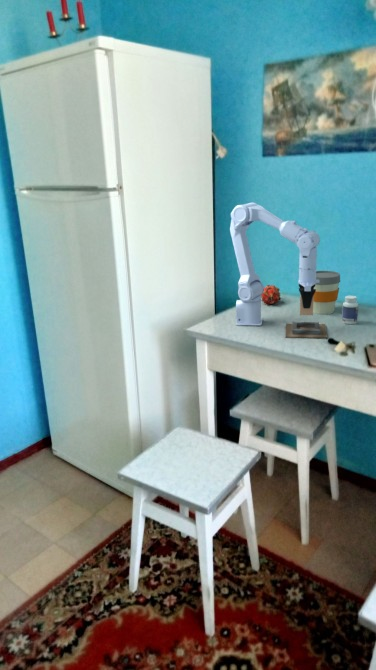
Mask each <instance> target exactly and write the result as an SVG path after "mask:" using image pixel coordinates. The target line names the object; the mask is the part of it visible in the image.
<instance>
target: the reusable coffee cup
mask: <svg viewBox="0 0 376 670" xmlns="http://www.w3.org/2000/svg"><path fill="white" fill-rule="evenodd" d="M316 280H319V283H316V284H315V287H314V289H316V291H315V293H314V301H313V314H317V315H330V314H333V313H334V311H335V308H336V301H338V298H339V292H340V287H339V286H340V283H341V274H340V272H337V271H334V270H316Z"/></svg>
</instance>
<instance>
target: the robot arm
mask: <svg viewBox="0 0 376 670" xmlns="http://www.w3.org/2000/svg"><path fill="white" fill-rule="evenodd" d="M230 218H231V220H230V226H229V232H230V236H231V240H232V245H233V248H234V253H235V259H236V261H237V266H238V271H239V275H240V278H239V280H238V283H237V286H238V289H237V290H238V291H237V294H238V297H239V299H236V303H235V320H236V322H235V325H236V326H260V327H261V326H262V324H263V318H262V298H261V295H262V294H263V292H264V288H265V287H264V284H263V282H262V280H261V278H260V276H259V275H258V274H257V272H255V266H254V263H253V258H252V254H251V249H250V245H249V240H248V236H247V230H248V228H249V227H250V225H251V224H252V223H254V222H259V221H260V222H262V223H263V224H265V225H268V226H270V227H272V228H274V229H275V230H277V231H278V230H279V234H280V236H282V237H283V238H285V239H286V240H289V241H290V242H291V243H294V244H296V247H297V248H298V249H299V256H298V257H299V259H298V262H299V263H298V265H299V266H298V281H297V283H298V292H299V293H300V294H301V297H302V302H303V308H308V309H309V308H310V306H311V302H312V298H313V295H314V293H315V291H316V289H314V287H315V284H316V283H319V280H316V271H317V259H318V258H317V256H318V254H317V253H318V246H319V245H320V242H321V237H320V235H319V234H318V233H317V231H315V230H309V229H308V228H307V227H302V226H300V225H299V224H297V221H295V220H294V219H293V220H286V221H285V220H283V219H281V218H280V217H278V216H277V215H275V214H273V213H272V212H270V211H268V210H267V209H266V208H265V207H263V206H262V205H260V204H258V203H256V202H249V203H248V202H247V203H244V204H238V205H235V207H234V208H233V209H232V211H231V212H230ZM300 294H299V295H300Z"/></svg>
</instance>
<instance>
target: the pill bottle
mask: <svg viewBox="0 0 376 670" xmlns="http://www.w3.org/2000/svg"><path fill="white" fill-rule="evenodd" d="M358 315H359V303H358V302H357V296H355V295H346V296H345V297H344V301H343V303H342V313H341V322H342V323H343V324H346V325H354V324H357V323H358Z"/></svg>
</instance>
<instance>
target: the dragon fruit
mask: <svg viewBox="0 0 376 670" xmlns="http://www.w3.org/2000/svg"><path fill="white" fill-rule="evenodd" d="M281 299H282V297H281V293H280V287H276V285H274V284H272V285H270V284H267V285H266V286H265V287H264V292H263V294H262V295H261V302H263V303H264V304H265V305H266V306H269V305H271V304H272V305H273V304H277V303H278V302H279V301H281Z"/></svg>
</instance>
